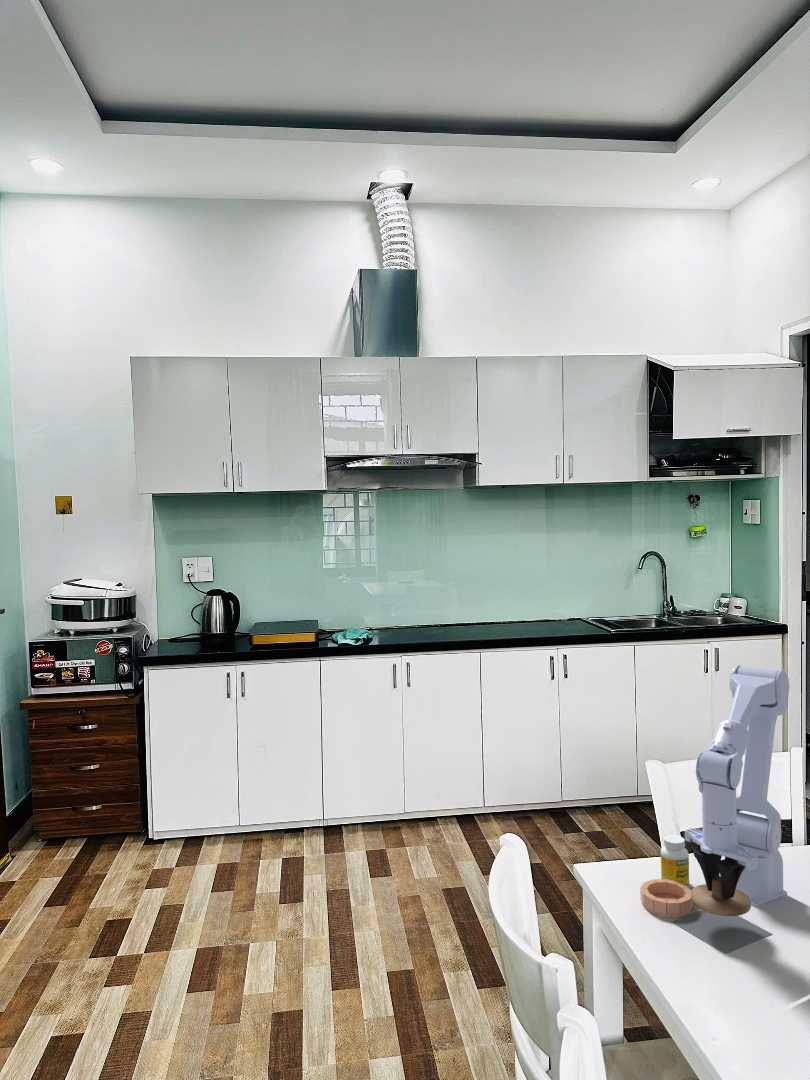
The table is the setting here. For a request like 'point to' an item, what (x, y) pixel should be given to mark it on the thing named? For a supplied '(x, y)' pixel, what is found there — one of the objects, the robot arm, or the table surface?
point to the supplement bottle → (675, 860)
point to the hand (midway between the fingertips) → (720, 893)
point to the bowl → (666, 898)
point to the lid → (720, 900)
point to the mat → (721, 930)
